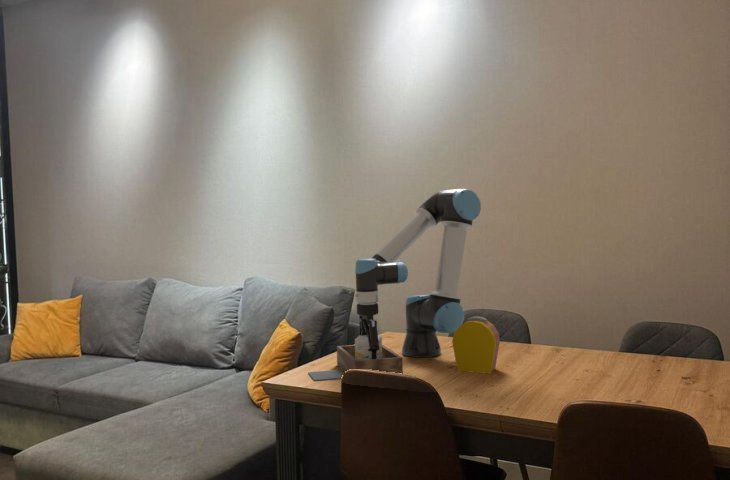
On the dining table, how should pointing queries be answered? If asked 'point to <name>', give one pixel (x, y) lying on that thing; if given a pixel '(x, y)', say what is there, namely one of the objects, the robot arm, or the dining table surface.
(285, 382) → the dining table surface
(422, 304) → the robot arm
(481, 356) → the yellow arched block
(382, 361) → the walnut frame
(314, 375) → the slate pad
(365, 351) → the ink box
